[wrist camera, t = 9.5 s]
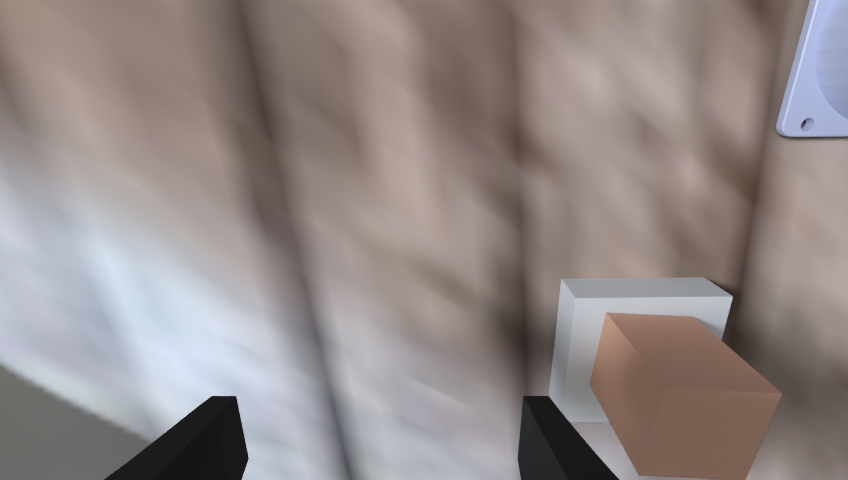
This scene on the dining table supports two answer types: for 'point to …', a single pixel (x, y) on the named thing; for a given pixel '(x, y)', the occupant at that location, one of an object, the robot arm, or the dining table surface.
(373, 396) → the dining table surface
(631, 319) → the column block
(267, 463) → the dining table surface
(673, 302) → the foundation slab
